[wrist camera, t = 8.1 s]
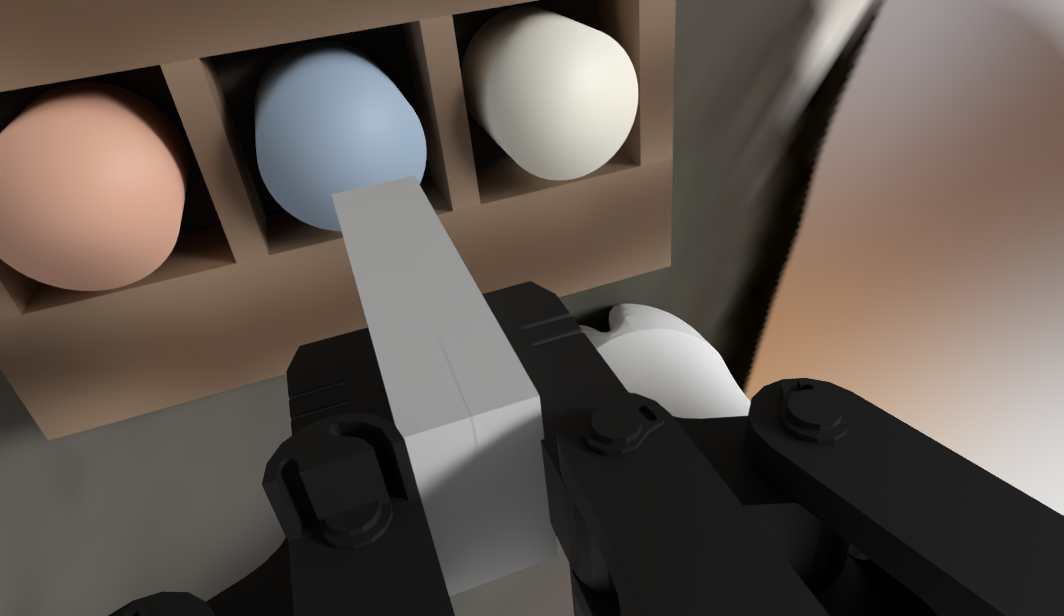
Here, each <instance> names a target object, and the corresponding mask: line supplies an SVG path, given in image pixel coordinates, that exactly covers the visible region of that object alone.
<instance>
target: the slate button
mask: <svg viewBox="0 0 1064 616" xmlns="http://www.w3.org/2000/svg"><path fill="white" fill-rule="evenodd" d="M254 119H255V138H256V154H257V162H258V166H259V170H260V174H261V176H262V179H263V181H264V184H265V185H266V187H267V189H268V190H269V192H270V194H271V195H272V196H273V197H274V199H275V200H276V201H277V202H278V203H279V204H280V205H281V206H282V207H283V208H284V209H285V210H286V211H287V212H289V213H290V214H291V215H292V216H294V217H296V218H297V219H299V220H301V221H303V222H305V223H307V224H309V225H312V226H315V227H318V228H321V229H326V230H332V231H341V227H340V223H339V220H338V216H337V213H336V209H335V205H334V202H333V198H332V195H331V194H334V193H339V192H343V191H348V190H352V189H357V188H361V187H366V186H370V185H375V184H379V183H384V182H388V181H393V180H397V179H402V178H406V177H411V176H415V178H416V179H417V181H418V183H419V184H420V182H421V180H422V177H423V174H424V170H425V165H426V149H427V148H426V140H425V135H424V131H423V128H422V125H421V123H420V120H419V118H418V116H417V115H416V113H415V111H414V109H413V108H412V107H411V105H410V104H409V103H408V101H407V100H406V99H405V97H404V96H403V95H402V94H401V92H400V91H399V90H398V88H397V87H396V86H395V84H394V83H393V82H392V81H391V79H390V78H389V77H388V75H387V74H386V73H385V71H384V70H383V69H382V68H381V67H380V66H379V65H378V64H377V63H376V62H375V61H374V60H373V59H372V58H371V57H369V56H368V55H366V54H365V53H363V52H362V51H360V50H358V49H356V48H354V47H351V46H349V45H345V44H342V43H338V42H332V41H315V42H308V43H304V44H300V45H298V46H295V47H293V48H291V49H289V50H287V51H285V52H284V53H282V54H281V55H280V56H278V57H277V58H276V59H275V60H274V61H273V62H272V63H271V64H270V65H269V66H268V68H267V69H266V71H265V72H264V73H263V75H262V77H261V79H260V81H259V84H258V87H257V90H256V94H255V100H254Z"/></svg>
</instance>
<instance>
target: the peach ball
mask: <svg viewBox="0 0 1064 616" xmlns="http://www.w3.org/2000/svg"><path fill="white" fill-rule="evenodd" d="M189 173H190V162H189V156H188V151H187V148H186V145H185V142H184V140H183V138H182V136H181V134H180V132H179V131H178V129H177V128H176V126H175V125H174V124H173V122H172V121H171V120H170V119H169V118H168V116H166V115H165V114H164V113H163V112H162V111H161V110H160V109H159V108H158V107H156V106H155V105H154V104H153V103H151V102H150V101H148V100H147V99H145V98H143V97H142V96H140V95H138V94H136V93H134V92H132V91H129V90H127V89H124V88H121V87H118V86H114V85H110V84H105V83H97V82H77V83H69V84H65V85H60V86H57V87H55V88H52V89H50V90H47V91H46V92H44V93H42V94H40V95H39V96H38V97H36V98H35V99H34V100H33V101H31V102H30V103H29V104H28V105H27V106H26V107H25V108H24V109H23V110H22V111H21V112H20V114H19V115H18V116H17V117H16V118H15V119H14V120H13V121H12V122H11V123H10V124H9V125H8V126H7V127H6V128H5V129H4V130H3V131H2V132H1V133H0V259H2V260H3V261H4V262H5V263H6V264H8V265H9V266H11V267H12V268H14V269H15V270H17V271H19V272H20V273H22V274H24V275H26V276H28V277H30V278H32V279H35V280H37V281H39V282H42V283H45V284H48V285H51V286H55V287H60V288H64V289H70V290H79V291H99V290H109V289H114V288H119V287H122V286H126V285H129V284H132V283H134V282H136V281H139V280H141V279H142V278H144V277H146V276H148V275H149V274H151V273H152V272H153V271H155V270H156V269H157V268H158V267H159V266H160V265H161V264H162V263H163V262H164V261H165V260H166V259H167V257H168V256H169V254H170V253H171V252H172V250H173V248H174V246H175V244H176V241H177V238H178V234H179V230H180V224H181V219H182V213H183V208H184V202H185V197H186V191H187V186H188V180H189Z"/></svg>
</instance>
